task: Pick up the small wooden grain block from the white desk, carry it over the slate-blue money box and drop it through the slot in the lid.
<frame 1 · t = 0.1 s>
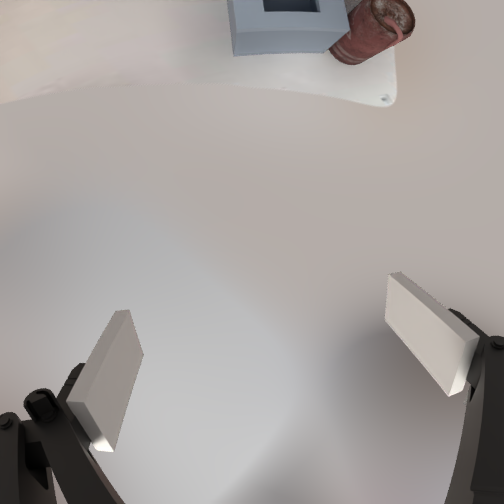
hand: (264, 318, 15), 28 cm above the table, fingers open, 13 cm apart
can: (346, 47, 36), on the table
coin box: (274, 15, 34), on the table
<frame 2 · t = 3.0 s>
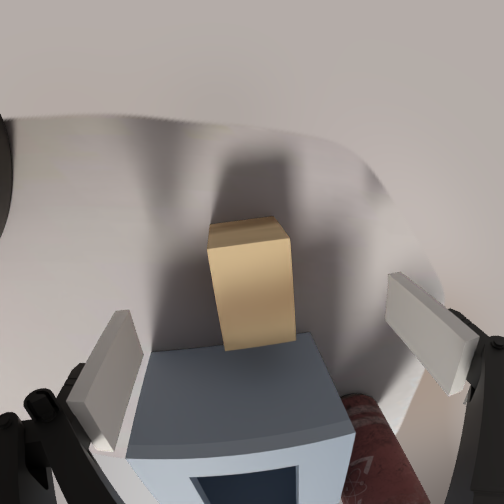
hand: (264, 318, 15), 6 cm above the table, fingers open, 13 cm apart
can: (345, 412, 27), on the table
wooden grain block: (247, 264, 21), on the table
coin box: (240, 399, 25), on the table
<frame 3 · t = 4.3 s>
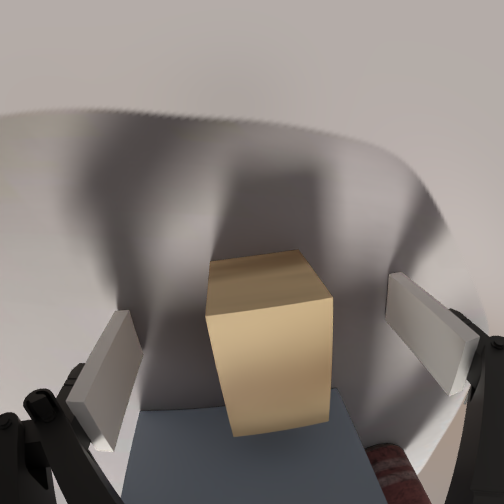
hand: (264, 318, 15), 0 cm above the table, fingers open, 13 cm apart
can: (368, 461, 21), on the table
wooden grain block: (261, 312, 15), on the table
coin box: (248, 458, 19), on the table
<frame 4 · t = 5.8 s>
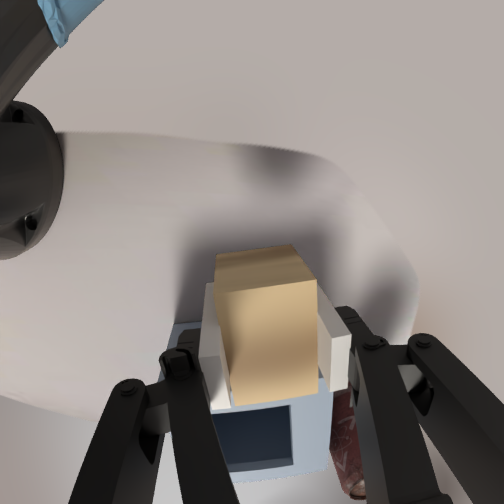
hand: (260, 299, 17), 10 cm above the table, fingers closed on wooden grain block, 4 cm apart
can: (337, 386, 32), on the table
wooden grain block: (259, 300, 18), point 10 cm above the table, touching gripper
coin box: (245, 368, 30), on the table
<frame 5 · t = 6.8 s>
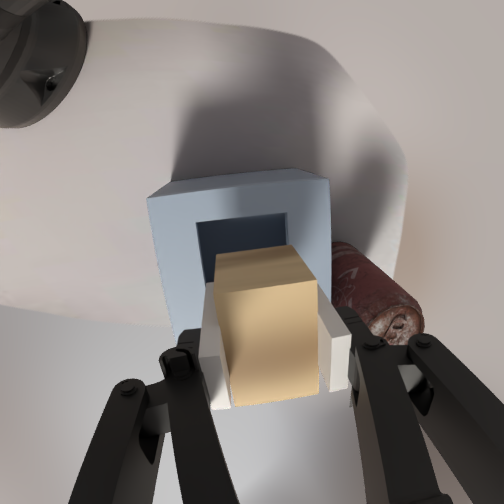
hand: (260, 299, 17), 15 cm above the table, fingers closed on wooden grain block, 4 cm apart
can: (333, 268, 34), on the table
wooden grain block: (260, 300, 18), point 14 cm above the table, touching gripper
coin box: (239, 234, 31), on the table
when the fingers open (11 cm above the table, at t = 8.2 s): wooden grain block drops 10 cm, resting on coin box.
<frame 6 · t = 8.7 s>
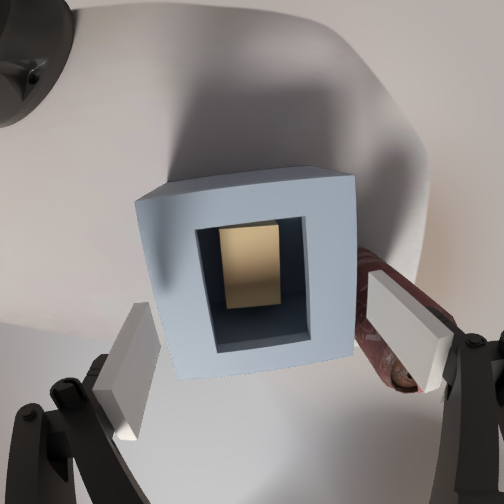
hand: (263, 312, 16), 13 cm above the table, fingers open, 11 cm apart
can: (351, 276, 30), on the table
wooden grain block: (246, 247, 27), point 1 cm above the table, touching coin box
coin box: (246, 241, 28), on the table
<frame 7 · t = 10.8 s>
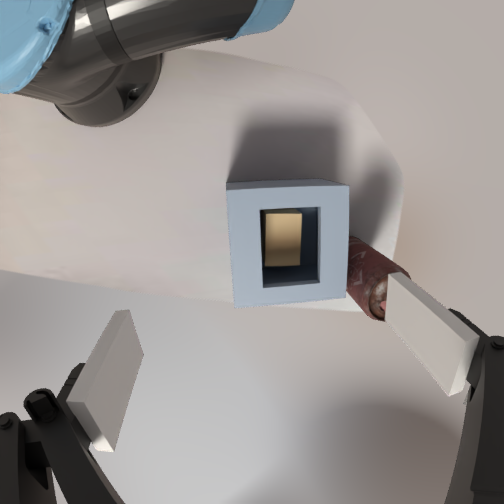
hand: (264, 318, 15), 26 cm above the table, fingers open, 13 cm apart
can: (345, 257, 43), on the table
wooden grain block: (276, 230, 40), point 1 cm above the table, touching coin box
coin box: (276, 226, 41), on the table
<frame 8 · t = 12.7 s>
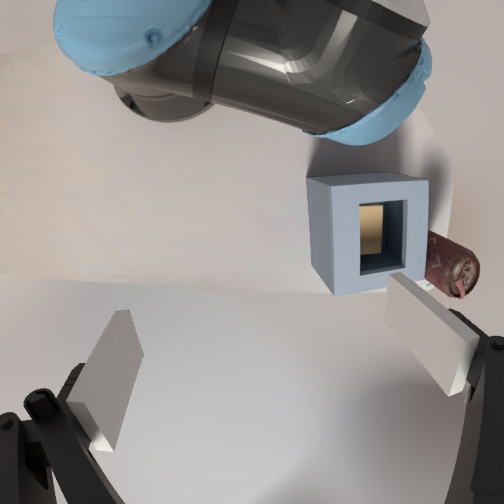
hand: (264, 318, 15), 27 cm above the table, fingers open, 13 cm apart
can: (408, 243, 44), on the table
wooden grain block: (352, 221, 41), point 1 cm above the table, touching coin box
coin box: (351, 217, 42), on the table
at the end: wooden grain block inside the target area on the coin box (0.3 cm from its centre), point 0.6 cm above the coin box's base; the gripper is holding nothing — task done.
